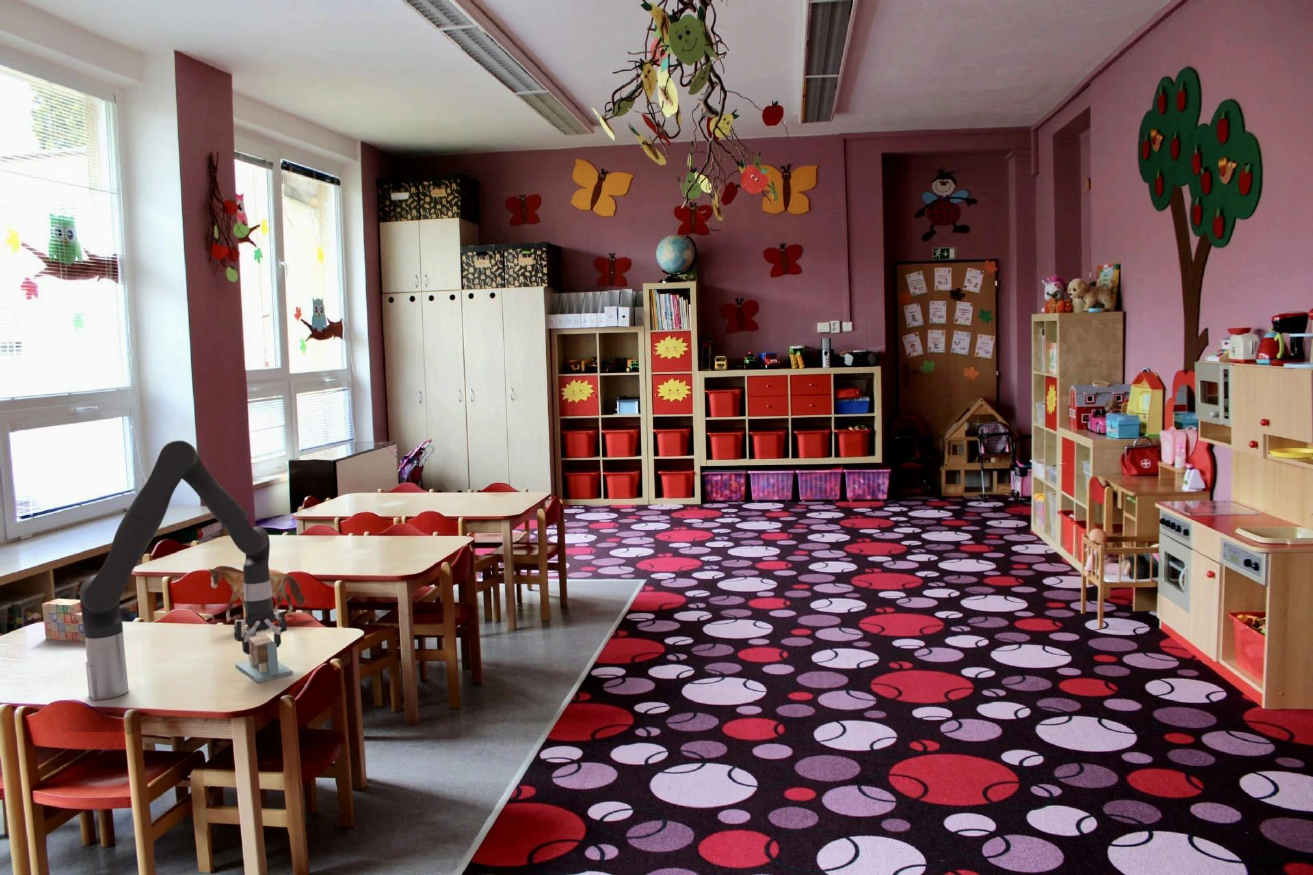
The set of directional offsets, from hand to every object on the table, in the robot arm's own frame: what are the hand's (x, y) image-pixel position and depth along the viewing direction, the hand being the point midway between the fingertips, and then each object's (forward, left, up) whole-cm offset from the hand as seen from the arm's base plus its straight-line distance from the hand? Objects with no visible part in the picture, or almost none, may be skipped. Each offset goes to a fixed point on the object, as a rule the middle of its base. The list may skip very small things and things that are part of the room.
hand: (262, 650), depth 286 cm
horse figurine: (+17, +52, -6) cm, 55 cm away
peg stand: (0, 0, -6) cm, 6 cm away
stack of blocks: (-34, +80, -6) cm, 87 cm away
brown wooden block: (0, 0, -2) cm, 2 cm away
